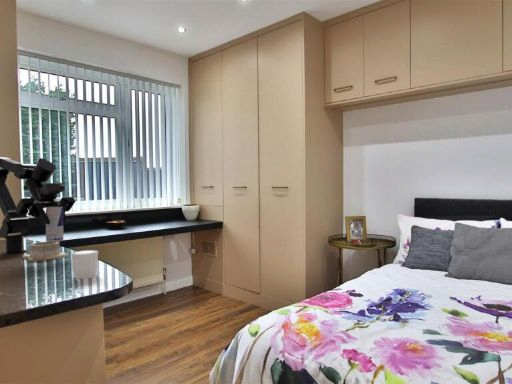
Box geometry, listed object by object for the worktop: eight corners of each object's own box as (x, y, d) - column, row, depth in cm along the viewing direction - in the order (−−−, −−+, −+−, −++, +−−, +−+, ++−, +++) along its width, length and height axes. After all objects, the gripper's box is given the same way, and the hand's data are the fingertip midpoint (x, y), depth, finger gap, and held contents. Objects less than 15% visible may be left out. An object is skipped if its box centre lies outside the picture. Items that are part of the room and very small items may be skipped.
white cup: (71, 280, 96) (71, 255, 96) (71, 275, 102) (71, 251, 102) (99, 277, 99) (99, 252, 99) (97, 272, 106) (97, 248, 105)
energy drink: (66, 240, 128) (66, 206, 127) (56, 242, 123) (56, 207, 122) (52, 239, 128) (52, 206, 128) (42, 242, 123) (42, 207, 123)
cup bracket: (22, 257, 128) (22, 243, 128) (55, 253, 136) (55, 240, 136) (33, 261, 121) (33, 247, 121) (67, 256, 129) (67, 243, 129)
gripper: (20, 174, 118) (39, 209, 113) (72, 175, 135) (91, 206, 130) (7, 197, 123) (25, 231, 118) (60, 195, 139) (77, 225, 134)
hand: (57, 222), depth 125 cm, fingers closed on energy drink, 5 cm apart
